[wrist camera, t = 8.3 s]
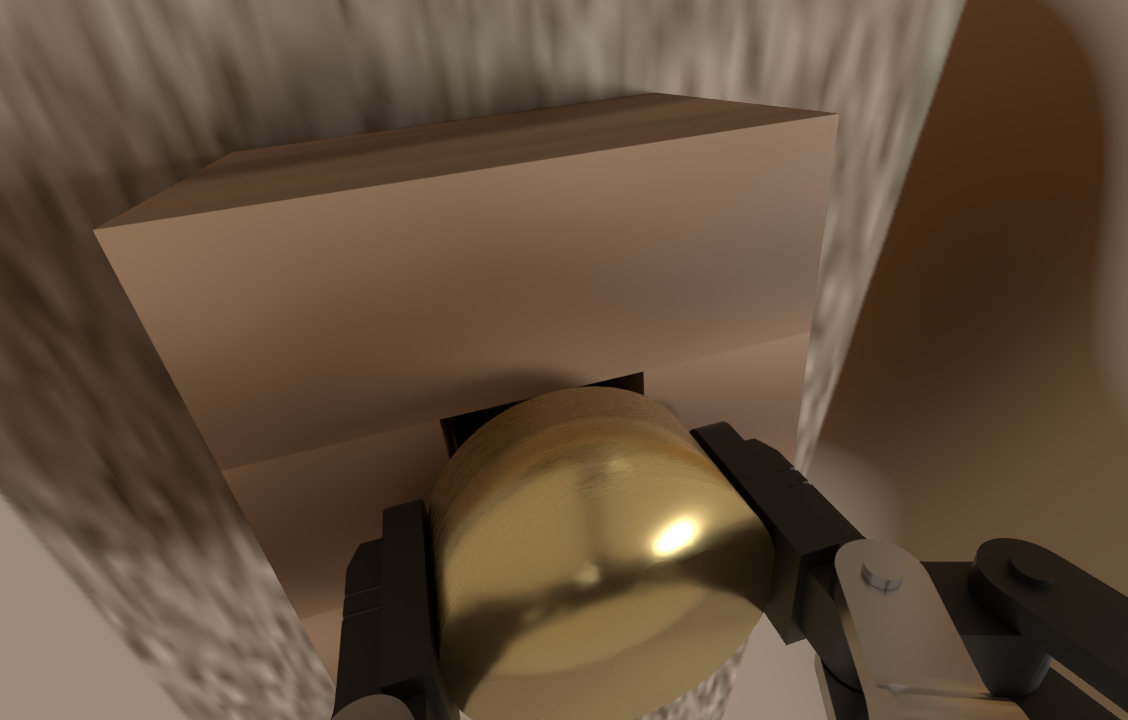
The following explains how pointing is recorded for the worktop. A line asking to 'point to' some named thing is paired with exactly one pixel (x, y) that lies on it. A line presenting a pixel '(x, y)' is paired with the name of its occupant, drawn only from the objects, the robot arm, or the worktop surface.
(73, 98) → the worktop surface
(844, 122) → the worktop surface
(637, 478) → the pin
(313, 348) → the block
